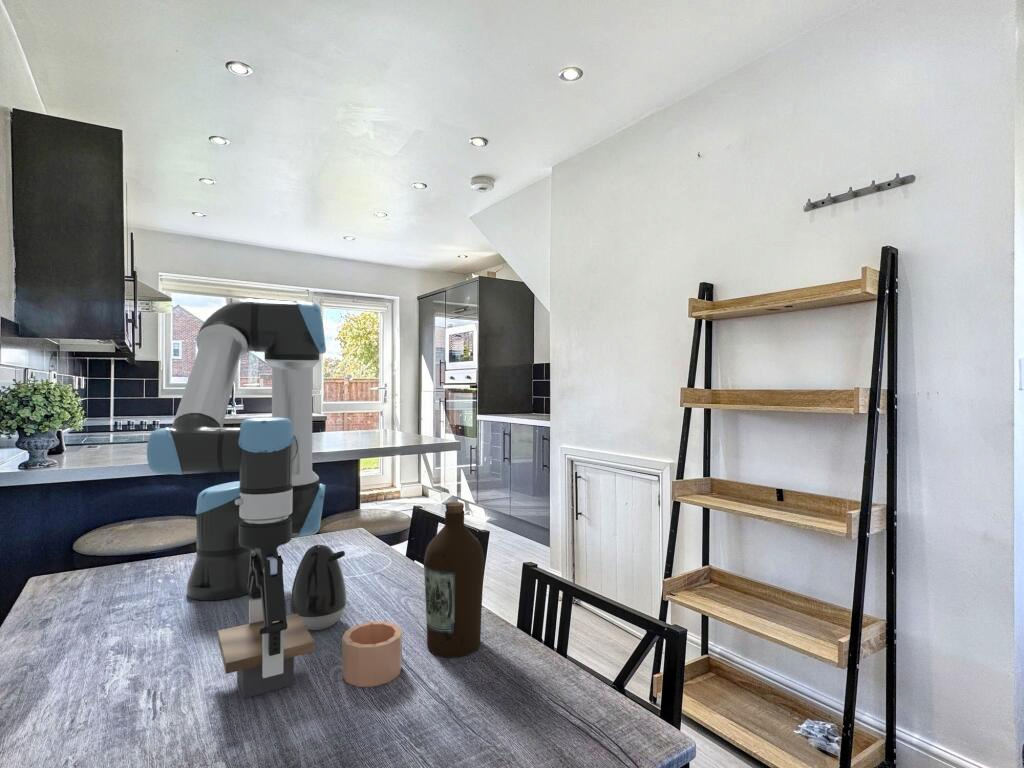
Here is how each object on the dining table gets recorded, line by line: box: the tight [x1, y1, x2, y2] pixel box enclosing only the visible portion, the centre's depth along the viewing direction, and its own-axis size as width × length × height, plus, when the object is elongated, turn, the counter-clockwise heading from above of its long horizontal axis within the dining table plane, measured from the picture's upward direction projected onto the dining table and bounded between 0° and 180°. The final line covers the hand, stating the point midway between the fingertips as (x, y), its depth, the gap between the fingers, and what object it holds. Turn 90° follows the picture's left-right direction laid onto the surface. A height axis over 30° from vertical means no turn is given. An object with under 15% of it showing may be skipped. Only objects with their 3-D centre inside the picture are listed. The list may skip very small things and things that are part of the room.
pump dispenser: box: [289, 544, 347, 631], centre depth 105 cm, size 10×10×15 cm
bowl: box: [341, 620, 403, 688], centre depth 88 cm, size 9×9×6 cm
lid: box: [217, 613, 316, 675], centre depth 85 cm, size 12×12×2 cm
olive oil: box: [423, 501, 485, 658], centre depth 97 cm, size 11×11×25 cm
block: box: [236, 657, 295, 700], centre depth 85 cm, size 7×7×6 cm
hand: (265, 655), depth 85 cm, fingers open, 13 cm apart
